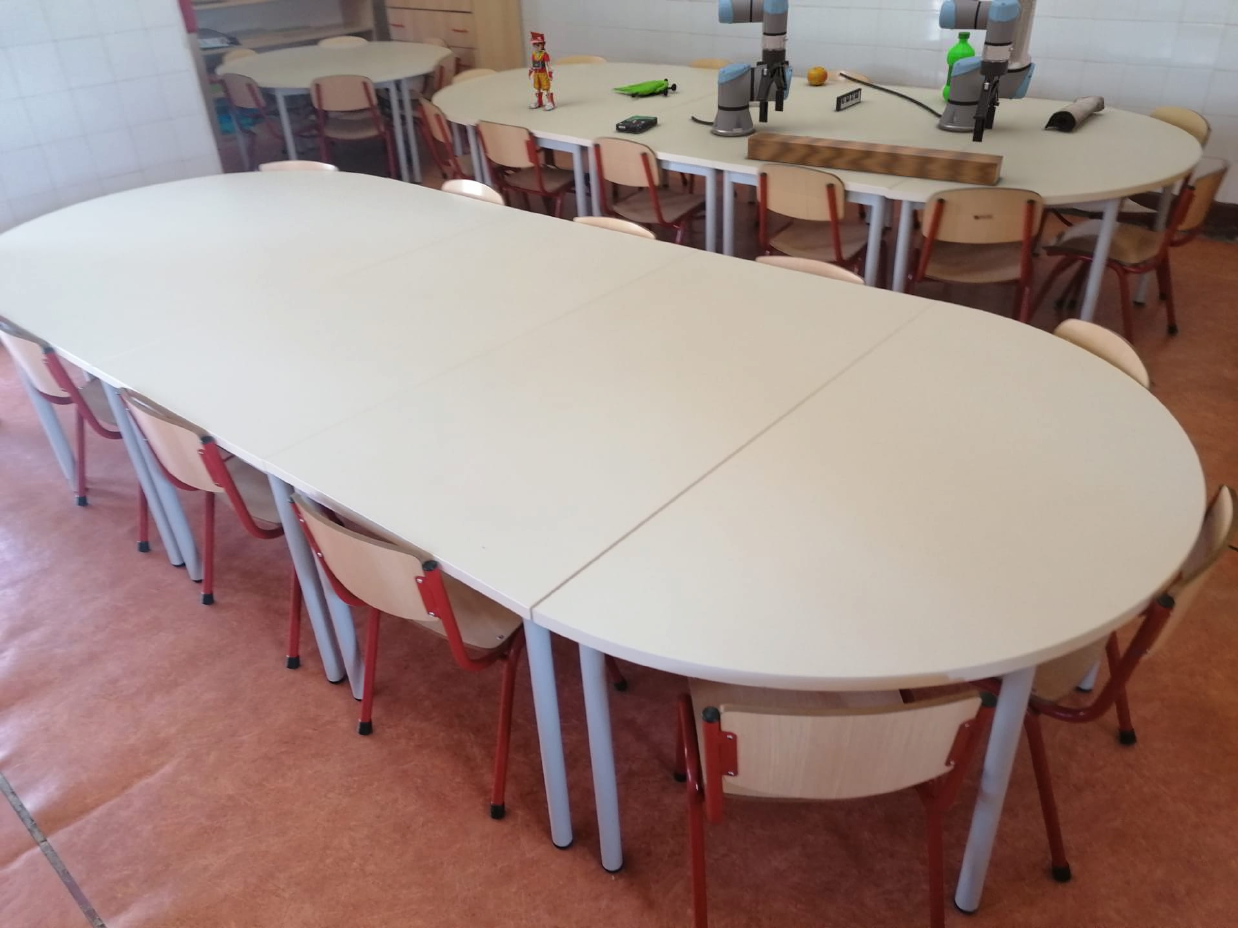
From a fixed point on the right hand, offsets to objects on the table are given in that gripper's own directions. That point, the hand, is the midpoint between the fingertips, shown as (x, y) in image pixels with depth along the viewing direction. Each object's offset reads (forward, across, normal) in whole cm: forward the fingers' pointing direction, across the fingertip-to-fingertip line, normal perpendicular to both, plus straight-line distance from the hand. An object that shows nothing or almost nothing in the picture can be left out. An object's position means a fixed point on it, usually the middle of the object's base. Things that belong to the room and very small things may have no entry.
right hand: (982, 135), depth 270 cm
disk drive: (+14, +17, +130) cm, 132 cm away
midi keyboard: (+15, +74, +66) cm, 100 cm away
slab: (+13, 0, +34) cm, 36 cm away
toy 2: (+15, +70, +159) cm, 174 cm away
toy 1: (+14, +33, +186) cm, 189 cm away
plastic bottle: (+15, +93, +29) cm, 98 cm away
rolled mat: (+15, +77, -18) cm, 81 cm away
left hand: (0, 0, +68) cm, 68 cm away
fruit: (+16, +106, +90) cm, 140 cm away
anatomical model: (+15, +66, +106) cm, 126 cm away
